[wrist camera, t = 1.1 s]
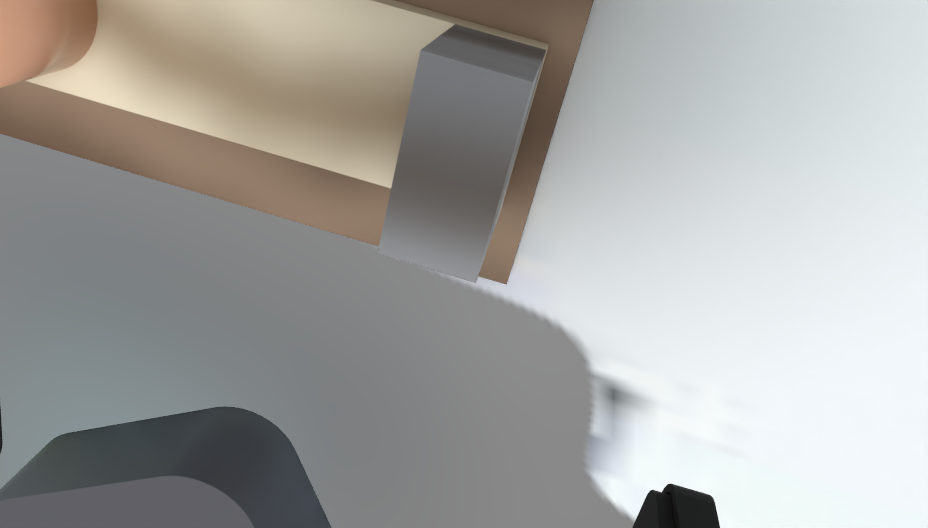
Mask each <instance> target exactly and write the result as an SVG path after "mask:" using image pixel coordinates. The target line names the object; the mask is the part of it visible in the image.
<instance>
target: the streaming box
mask: <svg viewBox="0 0 928 528" xmlns="http://www.w3.org/2000/svg"><path fill="white" fill-rule="evenodd" d="M0 528H331V526H330V524H329V522H328V520H327V517H326V515H325V513H324V511H323V509H322V507H321V505H320V502H319V500H318V498H317V496H316V494H315V492H314V490H313V487H312V485H311V483H310V481H309V479H308V477H307V475H306V472H305V470H304V468H303V466H302V464H301V462H300V460H299V457H298V455H297V453H296V451H295V449H294V447H293V446H292V444H291V442H290V441H289V439H288V438H287V437H286V435H285V434H284V433H283V432H282V431H281V430H280V429H279V428H278V427H277V426H275V425H274V424H273V423H272V422H270V421H269V420H267V419H265V418H264V417H262V416H260V415H258V414H256V413H254V412H251V411H248V410H245V409H240V408H235V407H215V408H210V409H204V410H199V411H193V412H187V413H181V414H175V415H169V416H163V417H158V418H152V419H146V420H140V421H135V422H129V423H123V424H117V425H112V426H106V427H100V428H95V429H89V430H83V431H77V432H72V433H67V434H63V435H60V436H58V437H56V438H54V439H53V440H52V441H51V442H49V443H48V444H47V445H46V446H45V447H44V448H43V449H42V450H41V451H40V452H39V453H38V454H37V455H36V456H35V457H34V458H33V459H32V460H31V461H29V462H28V463H27V465H25V466H24V467H23V468H22V469H21V470H20V471H19V472H18V473H17V474H16V475H15V476H14V477H13V478H12V479H11V480H10V481H9V482H8V483H6V485H4V486H3V487H2V489H0Z"/></svg>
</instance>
